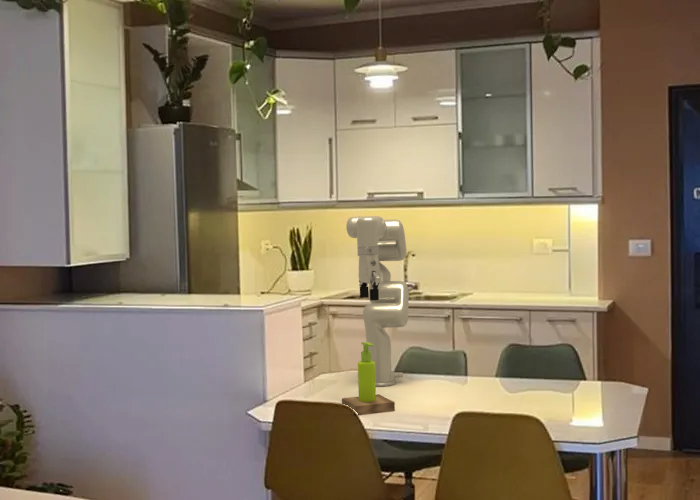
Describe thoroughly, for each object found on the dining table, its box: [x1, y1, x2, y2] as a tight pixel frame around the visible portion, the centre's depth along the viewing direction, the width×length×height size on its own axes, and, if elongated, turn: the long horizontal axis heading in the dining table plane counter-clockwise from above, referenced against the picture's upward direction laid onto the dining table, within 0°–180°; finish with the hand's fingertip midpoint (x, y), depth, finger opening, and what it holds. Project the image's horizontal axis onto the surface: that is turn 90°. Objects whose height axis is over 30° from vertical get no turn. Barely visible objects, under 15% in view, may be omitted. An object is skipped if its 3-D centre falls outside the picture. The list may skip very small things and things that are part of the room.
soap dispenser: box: [357, 341, 377, 402], centre depth 308 cm, size 6×7×20 cm
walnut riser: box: [341, 394, 396, 416], centre depth 309 cm, size 14×14×3 cm
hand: (369, 298), depth 324 cm, fingers open, 9 cm apart
